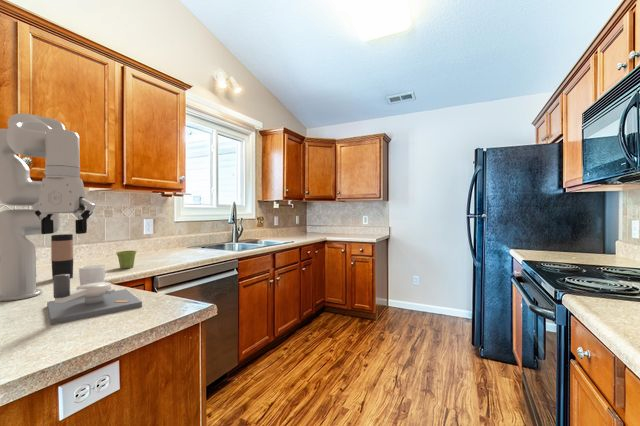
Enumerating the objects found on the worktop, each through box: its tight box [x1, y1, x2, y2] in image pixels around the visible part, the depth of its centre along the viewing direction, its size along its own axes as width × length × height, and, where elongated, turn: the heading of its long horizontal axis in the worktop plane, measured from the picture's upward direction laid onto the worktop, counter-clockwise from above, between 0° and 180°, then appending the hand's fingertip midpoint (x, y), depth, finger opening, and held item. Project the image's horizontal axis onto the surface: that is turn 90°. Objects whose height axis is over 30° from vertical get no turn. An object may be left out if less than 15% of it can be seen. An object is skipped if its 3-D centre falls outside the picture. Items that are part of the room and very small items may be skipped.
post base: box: [46, 288, 143, 326], centre depth 98 cm, size 22×22×4 cm
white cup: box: [78, 264, 106, 286], centre depth 114 cm, size 8×8×10 cm
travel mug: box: [50, 233, 74, 279], centre depth 138 cm, size 8×8×20 cm
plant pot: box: [115, 250, 137, 270], centre depth 163 cm, size 9×9×9 cm
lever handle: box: [52, 274, 116, 303], centre depth 94 cm, size 20×10×8 cm, turn 179°
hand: (64, 233), depth 86 cm, fingers open, 9 cm apart
